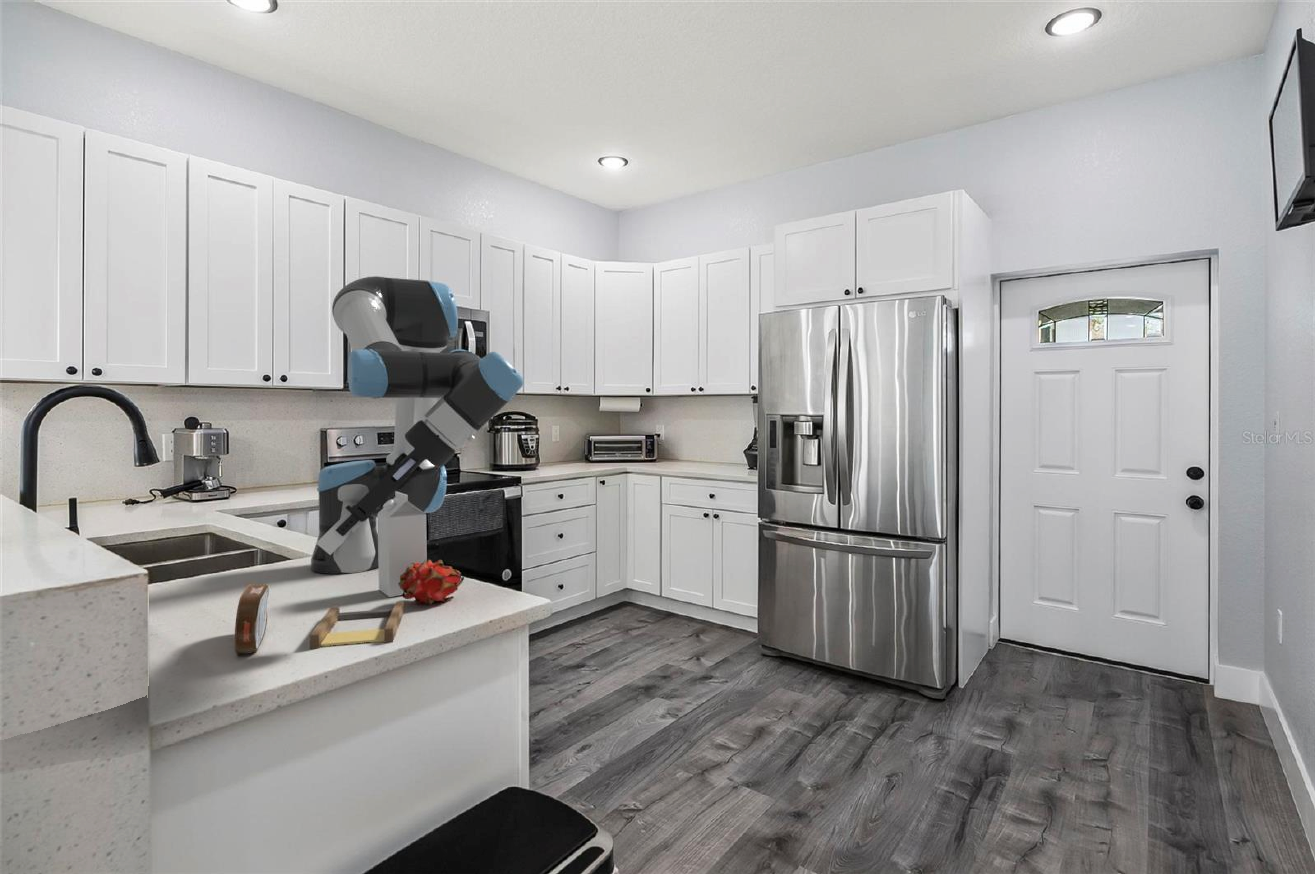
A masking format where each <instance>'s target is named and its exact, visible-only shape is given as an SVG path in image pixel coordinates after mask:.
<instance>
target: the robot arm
mask: <svg viewBox="0 0 1315 874" xmlns="http://www.w3.org/2000/svg"><path fill="white" fill-rule="evenodd" d="M331 309H332V310H331V312H332V313H331V314H332V317H333V320H334V323H335V324H336V326H337V327H338V329H339V330H340V331H341V332H342V333H344V334H345V335H346V337H347V340H348V343H349V346H350V347H351V350H352V351H351V352H350V353H349V355H348V359H347V381H348V382H347V383H348V389H349V392H350V393H351V395H353V396H355V397H357V398H358V397H360V398H371V399H374V400H375V399H391V398H392V399H394V398H395V418H394V435H393V437H394V438H393V439H394V441H393V451H392V452H391V453H389V454H388V455H387V456H386V461H385V465H377V464H376V462H375V460H372V459H365V460H355V461H349V462H347V461H346V462H343V463H337V464H332V465H328V466H325V467H324V468H322V469H320V471H319V473H318V478H317V479H318V480H317V481H318V482H317V483H318V484H317V489H316V491H317V492H318V531H319V532H318V537H317V540H316V543H315V547H314V549H313V552H312V555H311V559H310V570H311V571H312V572H314V573H319V574H333V575H334V574H335V575H336V574H344V573H343V572H341V570H340V568H339V566H338V565H337V563H336V562H335V560H334V557H333V555H334V551H335V550H336V549H337V548H338V547H339V546H340V545H341V544H342V543H343V542H344V540H345V539H346V538H347V537H348V535H349V534H350V531H351V530H352V532H354V531H355V530H356V529H357V528H358V527H359V526H360V525H361V524H362V523H363V521H365V520H367V519H369V523H370V528H371V533H372V538H373V543H374V547H375V557H374V559H373V562H372V564H371V567H370V568H369V569H368V570H367V571H369V570H373V569H378V568H379V564H378V529H377V518H378V513H379V512H380V511H381V510H382V509H383V505H384V504H385V503H386V502H387V501H389V500H391V499H392V500H393V499H394V498H395V492H399V493H403V494H406V495H408V501H409V502H410V503H411V504H413V505H414V506H415V507H417V508H418V509H419V510H421V511H422V512H423V513H425V514H429V513H434V512H436V511H438V510H439V509H440V508H441V507H442V505H443V503H444V501H445V497H446V493H447V482H448V481H447V477H448V475H447V469H446V466H445V465H446V464H447V463H448V462H449V461H450V460H451V459H452V458H453V457H454V456H455V455H456V450H455V449H456V448H457V449H462V447H463V446H464V445H466V444H467V443H468V442H467V441H469V442H470V443H473V442H474V441H475V440H476V437H475V436H474V435H475V434H476V433H477V432H479V431H480V430H481V429H482V427H484V426H485V425H486V424H487V423H488V422H489V421H490V420H491V419H492V418H493V417H494V416H495V415H496V414H497V413H498V412H499V411H501V409H502V408H503V407H505V405H506V404H507V403H508V402H510V401H512V399H513V398H514V396H515V395H516V394H517V393H518V391H520V389H521V388H523V386H524V383H525V382H524V378H523V376H522V375H521V373H520V372H518V370H517V369H516V368H514V367H515V366H513V365H511V363H510V362H509V361H508V360H507V359H505V358H504V357H503V356H502V355H501V354H500V353H498V352H496V351H491V352H488V353H487V354H486V355H485V356H483V357H482V358H481V357H480V356H478V355H477V354H476V353H474V352H473V351H469V350H466V349H458V348H457V349H453V350H451V351H449V352H442V351H443V350H445V349H446V348H447V347H448V338H449V339H452V338H455V336H457V334H458V333H457V332H458V325H459V319H458V315H459V314H458V308H457V303H456V299H455V296H454V293H453V291H452V289H451V288H450V287H449V286H448V285H447V284H446V283H443V282H437V281H431V280H423V279H422V280H421V279H412V278H410V279H408V278H397V277H385V276H366V277H362V278H359V279H356V280H354V281H351V282H349V283H348V284H346V285H345V286H343V287H342V288H341V289H340V291H338V293H337V294H336V295H335V298H334V299H333V302H332V306H331ZM437 399H439V400H438V401H437ZM350 484H362V485H366V486H367V487H368V490H369V492H368V493H367V494H366V495H365V496H364V497H363V498H362V499H361V500H360V501H359V502H358V503H357V504H356V505H354V506H353V507H350V506H349V505H348V506H347V507H346V509H347V510H348V512H347V513H346V514H345V515H344V516H343V517H342V518H341V512H342V506H343V502H342V501H340V500H339V499H338V489H339V488H340V487H341V486H344V485H350ZM340 518H341V519H340Z"/></svg>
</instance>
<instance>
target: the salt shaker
mask: <svg viewBox="0 0 1315 874" xmlns="http://www.w3.org/2000/svg"><path fill="white" fill-rule="evenodd" d="M368 492H369V490H368V487H367V486H366V485H362V484H350V485H344V486H341V487H340V488H339V489H338V499H339V500H340V501H342V502H343V506H342V512H341V518H342V517H343V516H344V515H345V514H346V513H347V512H348V510H347V509H346V507H347V506H348V505H349V506H350V507H353V506H354V505H356V504H357V503H358V502H359V501H360V500H361V499H362V498H363V497H364V496H365V495H366V494H367V493H368ZM341 518H340V519H341ZM333 557H334V560H335V562H336V563H337V565H338V566H339V568H340V570H341V572H343V573H342V574H356V573H363V572H366V571H369V570H368V569H369V568H370V567H371V564H372V562H373V559H374V557H375V547H374V543H373V538H372V533H371V528H370V523H369V519H367V520H365V521H363V523H362V524H361V525H360V526H359V527H358V528H357V529H356V530H355V531H354V532H352V530H351V531H350V534H349V535H348V537H347V538H346V539H345V540H344V542H343V543H342V544H341V545H340V546H339V547H338V548H337V549H336V550H335V551H334V555H333Z"/></svg>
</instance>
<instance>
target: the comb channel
mask: <svg viewBox="0 0 1315 874" xmlns="http://www.w3.org/2000/svg"><path fill="white" fill-rule="evenodd" d="M340 611H341V610H340V605H334V606H332V605H331V607H330V608H328V611H327V612H326V613H325V614H324V616H323V617H322V619H320V621H319V623H318V624H317V625H316V626H315V628H314V629H313V630H312V632H311V633H310V635H309V649H310V650H311V649H312V648H314V649H320V648H321V643H322V641H323V640H324V638H325V637H326V635H327V634H328V633H331V631H332V630H331V629H333V628H334V627H335V625H336V624H337V622H338V621H345V620H346V619H347V620H359V619H369V618H370V619H372V618H385V617H386V618H387V617H389V618H388V620H387V621H386V625H385V627H384V628H383V629H384V640H385V641H384V643H393V642H394V641H395V638H394V637H396V635H397V632H398V630H399V627H400V624H401V621H402V619H403V616H404V614H405V603H404V600H402V601H401V600H400V601H396V602H395V604H394V606H393V608H390V609H389V608H388V609H387V608H386V609H376V610H362V611H346V612H340ZM344 619H345V620H344ZM347 620H346V621H347ZM335 623H336V624H335ZM397 629H398V630H397ZM393 640H394V641H393Z"/></svg>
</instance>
